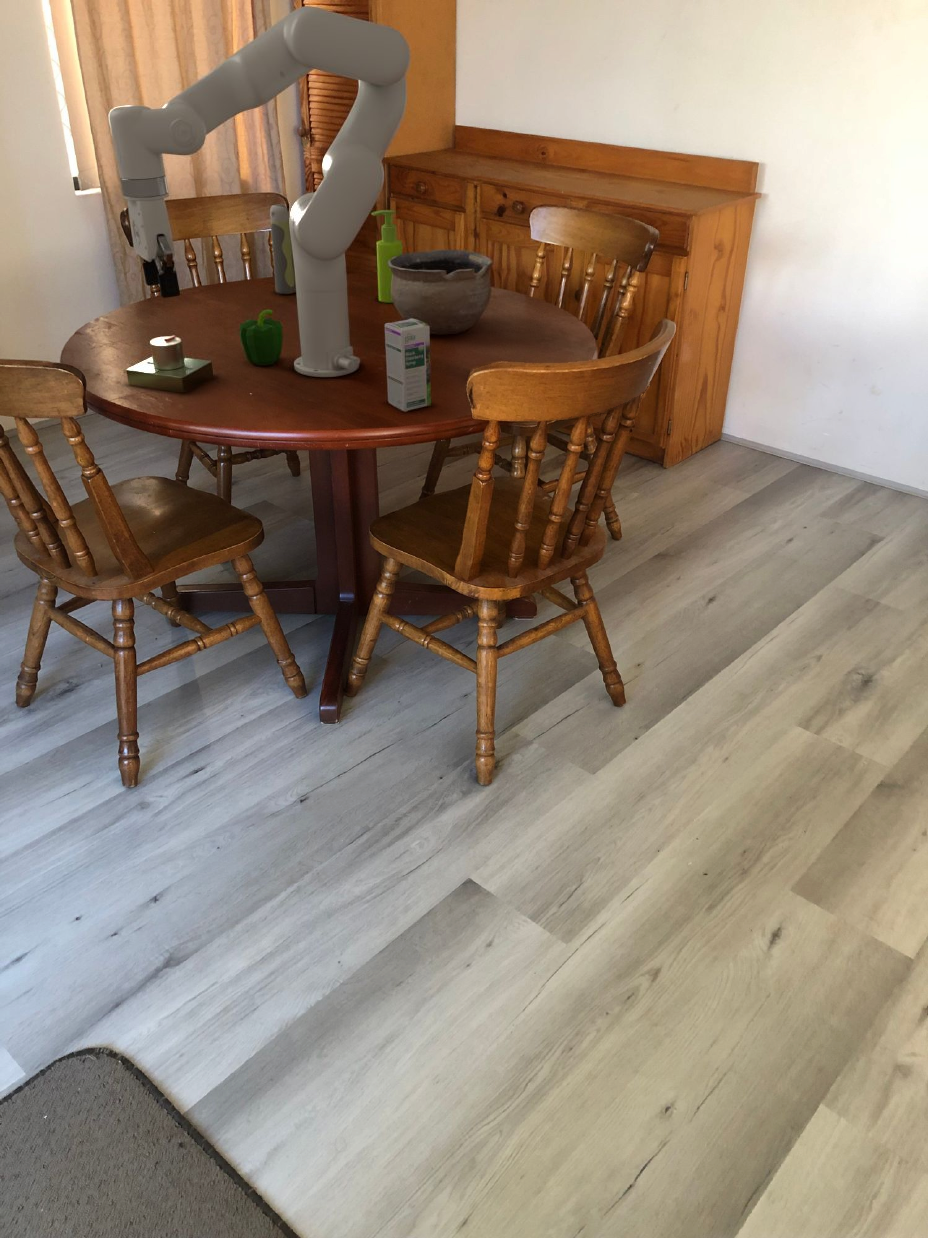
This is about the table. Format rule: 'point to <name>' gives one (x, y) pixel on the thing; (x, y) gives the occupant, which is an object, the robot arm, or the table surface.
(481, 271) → the ceramic bowl
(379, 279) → the soap dispenser
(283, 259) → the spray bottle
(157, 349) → the dial
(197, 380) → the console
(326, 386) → the table surface
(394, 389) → the syrup box
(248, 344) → the bell pepper
